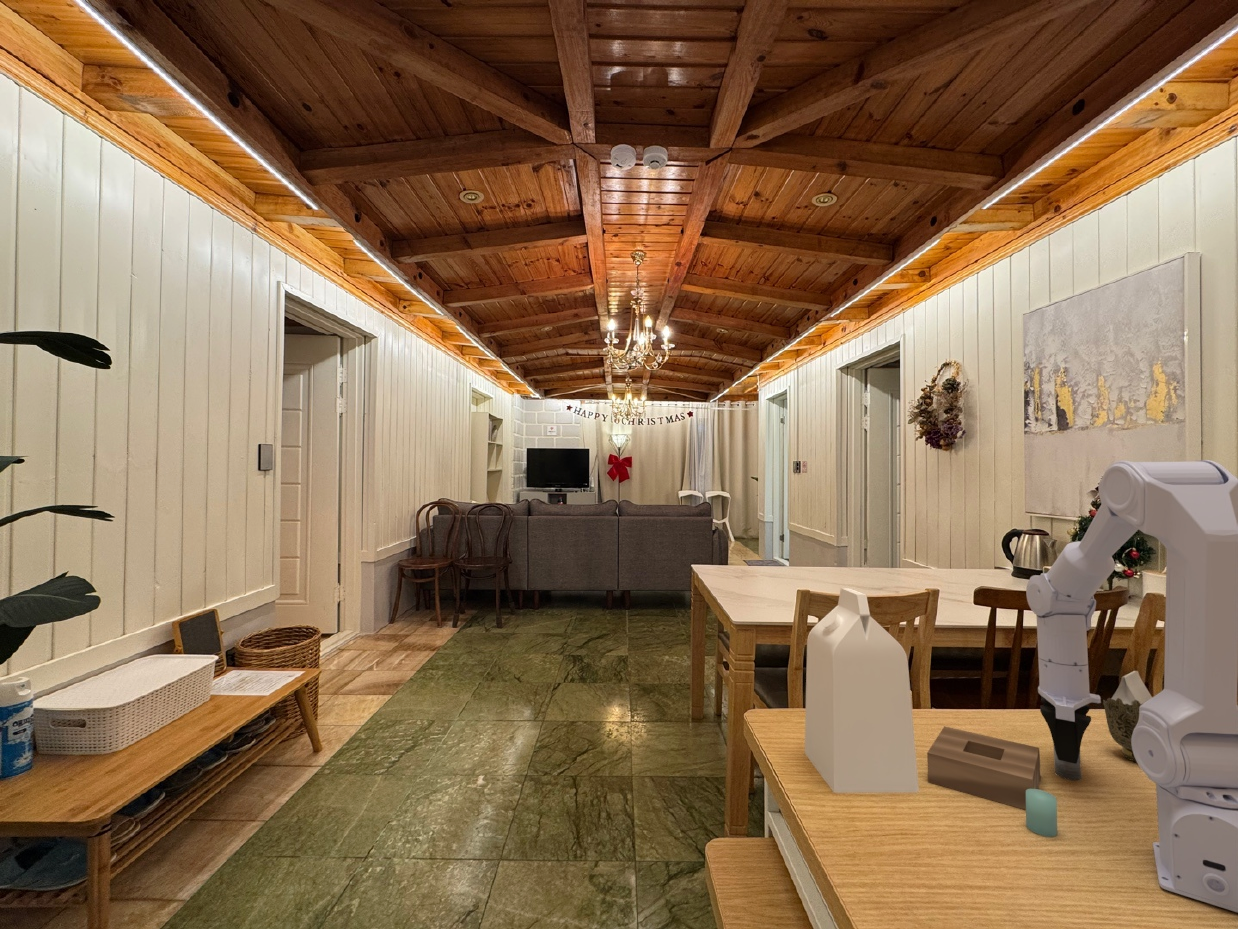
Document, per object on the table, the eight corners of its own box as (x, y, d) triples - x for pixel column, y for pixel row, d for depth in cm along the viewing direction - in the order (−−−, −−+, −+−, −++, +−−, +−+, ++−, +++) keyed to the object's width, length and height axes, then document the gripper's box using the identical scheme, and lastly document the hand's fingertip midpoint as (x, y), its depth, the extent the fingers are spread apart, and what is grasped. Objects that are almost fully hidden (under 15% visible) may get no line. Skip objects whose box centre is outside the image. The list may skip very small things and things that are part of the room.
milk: (919, 792, 77) (912, 598, 78) (834, 793, 77) (829, 598, 78) (878, 753, 89) (873, 585, 90) (804, 753, 89) (801, 585, 90)
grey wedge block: (1154, 733, 96) (1151, 673, 96) (1141, 743, 92) (1138, 680, 93) (1126, 726, 99) (1123, 668, 100) (1112, 735, 95) (1109, 674, 96)
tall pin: (1081, 782, 79) (1078, 731, 80) (1054, 776, 81) (1052, 726, 82) (1081, 774, 82) (1079, 724, 82) (1055, 768, 84) (1053, 719, 84)
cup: (1113, 764, 85) (1110, 709, 85) (1099, 745, 91) (1097, 694, 92) (1180, 775, 81) (1177, 718, 82) (1161, 755, 88) (1158, 702, 88)
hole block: (1033, 812, 72) (1032, 779, 72) (928, 782, 80) (927, 752, 80) (1040, 776, 81) (1039, 747, 81) (945, 752, 89) (944, 726, 89)
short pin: (1057, 840, 66) (1057, 805, 66) (1025, 830, 68) (1025, 796, 68) (1056, 827, 69) (1056, 794, 69) (1026, 818, 70) (1025, 786, 70)
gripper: (1101, 678, 74) (1107, 785, 74) (1095, 654, 86) (1100, 746, 85) (1035, 668, 79) (1039, 769, 78) (1037, 646, 90) (1041, 734, 89)
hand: (1067, 756), depth 82 cm, fingers closed on tall pin, 3 cm apart
